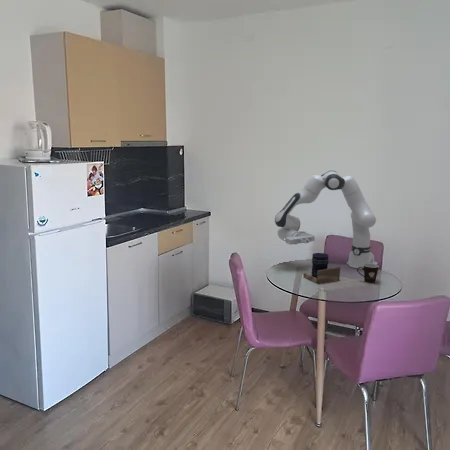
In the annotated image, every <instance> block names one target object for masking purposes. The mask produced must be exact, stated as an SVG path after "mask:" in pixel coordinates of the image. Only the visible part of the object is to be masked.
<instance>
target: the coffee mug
mask: <svg viewBox="0 0 450 450" xmlns="http://www.w3.org/2000/svg"><path fill="white" fill-rule="evenodd" d="M379 267H380V266H379V264H377V265H376V264H364V268H363V267H359V268H362V269H361V270H363V274H362V273H361V272H360V271H359V270H360V269H359V268H356V271H357V272H358V274H359V275H360V276H362V277H363V278H364V280H363V281H364V282H365V283H368V284H374V283H376V281H377V276H378V273H379V272H378V271H379Z"/></svg>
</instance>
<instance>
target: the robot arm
mask: <svg viewBox="0 0 450 450" xmlns="http://www.w3.org/2000/svg"><path fill="white" fill-rule="evenodd" d="M325 188H327V189H328V190H329V191H338V190H340V191H341V192H342V194H343V197H344V199H345V201H346V204H347V206H348V208H349V209H350V210H351V213H350V219H351V227H352V245H351V251H350V252H349V254H348V261H346V264H347V265H348V266H349V267H350V268H354V269H357V268H359V267H363V268H364V264H376V265H379V264H378V262H377V261H376V260H375V255H374V254H373V253H372V251H371V249H373V246H372V245H371V233H370V228H372V227H374V226H375V225H376V221H377V218H376V216H375V214H374V213H373V210H371V207H370V205H369V204H368V203H367V201H366V199H365V197H364V195H363V192H362V191H361V188H360V186H359V183H358V182H357V181H356V179H355V177H354V176H352V175H345V176H341V175H340V173H338V172H337V171H336V170H328V171H327V172H324V173H323V174H322V175H319V174H313V175H312V176H311V177H310V178H309V179H308V180H307V182H306V183H305V185H304V186H303V188H302V189H301V190H300V191H299V192H297V193H294V194H293V195H292V197H291V198H290V199H289V200H288V202H287V203H286V204H285V205H284V206H283V207H282V209H281V210H280V211H278V213H277V214H276V215H275V216H274V223H275V225H276V227H279V229H278V230H277V236H278V238H279V239H280V240H281V241H284V242H285V243H286V244H287V245H299V244H308V243H311V242H312V243H313V242H315V240H316V239H315V238H316V237H315V235H313V234H311V233H309V232H307V231H299V230H300V227H301V220H300V218H299V217H296V216H294V215H291V214H290V213H291V212H292V211H293V210H294V208H295V207H296V206H298V205H301V204H302V205H303V204H312V203H314V202H315V201H316V200H317V198H318V197H319V195H320V193H321V192H322V190H323V189H325ZM360 269H361V270H363V269H362V268H359V269H358V270H360Z"/></svg>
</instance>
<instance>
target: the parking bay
mask: <svg viewBox="0 0 450 450" xmlns="http://www.w3.org/2000/svg"><path fill="white" fill-rule="evenodd" d="M340 275H341V267H339V266H338V267H330V268H327V269H324V270H318V271H317V278H315V277H313V276H312V275H310V274H308V273H307V272H306V273H303V279H304V278H305V279H306V280H308V281H311V282H313V283H315V284H317V285H321V284H325V282H327V283H331V281H332V282H336V281H335V280H338V281H340V278H341V276H340ZM320 283H321V284H320Z"/></svg>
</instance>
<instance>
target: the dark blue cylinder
mask: <svg viewBox="0 0 450 450" xmlns="http://www.w3.org/2000/svg"><path fill="white" fill-rule="evenodd" d="M329 256H330V255H329V254H327V253H323V252H316V253H315V252H314V253H312V258H311V259H312V260H311V264H312V265H311V266H312V268H311V276H313V277H315V278H317V271H318V270H324V269H328V266H329V265H328V264H329Z"/></svg>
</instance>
